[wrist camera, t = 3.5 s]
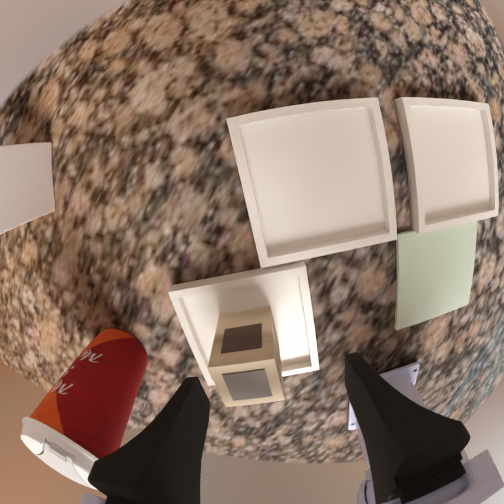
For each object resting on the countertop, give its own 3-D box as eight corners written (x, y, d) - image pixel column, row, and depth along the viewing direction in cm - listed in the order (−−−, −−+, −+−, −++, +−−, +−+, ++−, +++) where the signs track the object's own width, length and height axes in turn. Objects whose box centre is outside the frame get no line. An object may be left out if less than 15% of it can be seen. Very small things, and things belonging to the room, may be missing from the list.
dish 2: (316, 360, 23) (319, 369, 22) (210, 376, 24) (208, 385, 23) (303, 259, 20) (305, 266, 18) (172, 284, 21) (168, 292, 19)
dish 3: (490, 212, 18) (498, 215, 17) (411, 230, 19) (419, 234, 17) (479, 104, 14) (488, 103, 13) (394, 99, 15) (401, 97, 14)
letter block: (279, 345, 22) (284, 400, 16) (232, 352, 22) (226, 407, 16) (270, 304, 20) (274, 358, 15) (219, 313, 21) (207, 367, 15)
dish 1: (390, 234, 19) (397, 239, 18) (260, 261, 20) (261, 268, 19) (370, 100, 16) (377, 97, 14) (228, 121, 16) (226, 118, 15)
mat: (466, 302, 21) (468, 304, 21) (394, 328, 22) (395, 330, 21) (474, 215, 18) (477, 216, 18) (395, 233, 19) (397, 234, 18)
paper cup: (95, 303, 21) (5, 413, 8) (168, 344, 23) (116, 483, 9) (85, 355, 24) (24, 450, 11) (147, 389, 25) (106, 498, 12)
